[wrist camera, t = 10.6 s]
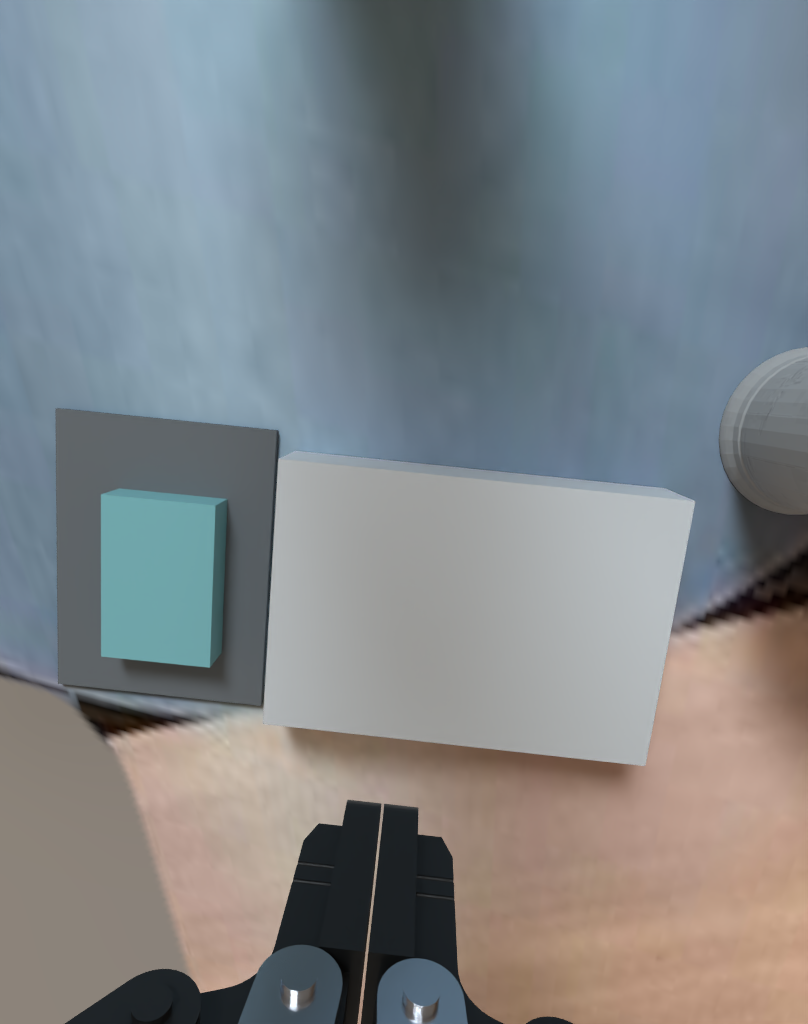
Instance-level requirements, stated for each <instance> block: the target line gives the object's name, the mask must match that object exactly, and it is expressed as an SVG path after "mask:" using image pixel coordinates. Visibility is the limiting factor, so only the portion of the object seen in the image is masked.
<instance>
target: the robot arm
mask: <svg viewBox="0 0 808 1024" xmlns="http://www.w3.org/2000/svg"><path fill="white" fill-rule="evenodd" d="M380 813H381V804H380V803H371V802H362V801H354V800H348V801H347V805H346V810H345V815H344V820H343V825H342V826H337V825H328V824H318V825H317V826H316V827H315V828H314V829H313V831H312V832H311V833H310V834H309V835H308V836H307V837H306V838H305V840H304V842H303V845H302V849H301V853H300V856H299V860H298V865H297V867H296V871H295V874H294V878H293V883H292V885H291V889H290V893H289V896H288V900H287V904H286V907H285V911H284V915H283V918H282V922H281V925H280V929H279V933H278V936H277V940H276V944H275V947H274V950H273V953H272V955H271V956H269V957H268V958H267V959H266V960H265V961H264V963H263V964H262V965H261V967H260V968H259V970H258V972H257V973H256V974H255V975H254V976H253V977H251V978H250V979H248V980H246V981H244V982H243V983H240V984H238V985H235V986H232V987H229V988H225V989H220V990H215V991H210V992H205V993H200V992H199V989H198V987H197V985H196V984H195V982H194V981H193V980H192V979H191V978H190V977H189V976H187V975H186V974H184V973H182V972H179V971H177V970H171V969H158V970H152V971H149V972H145V973H143V974H140V975H138V976H136V977H134V978H133V979H131V980H129V981H128V982H126V983H125V984H123V985H122V986H120V987H119V988H117V989H116V990H115V991H113V992H111V993H110V994H108V995H107V996H105V997H104V998H102V999H101V1000H99V1001H98V1002H96V1003H95V1004H93V1005H92V1006H91V1007H89V1008H87V1009H86V1010H85V1011H83V1012H81V1013H80V1014H78V1015H77V1016H75V1017H74V1018H73V1019H71V1020H70V1021H68V1022H67V1023H65V1024H357V1022H358V1013H359V1004H360V996H361V987H362V978H363V969H364V960H365V952H366V943H367V934H368V925H369V916H370V907H371V899H372V890H373V880H374V871H375V861H376V852H377V842H378V832H379V823H380ZM361 1024H503V1023H501V1022H499V1021H497V1020H495V1019H493V1018H491V1017H489V1016H488V1015H486V1014H485V1013H484V1012H482V1011H481V1010H480V1009H479V1008H478V1007H477V1006H475V1005H474V1003H473V1002H472V1001H471V1000H470V999H469V997H468V996H467V994H466V993H465V991H464V989H463V987H462V985H461V982H460V979H459V975H458V967H457V945H456V923H455V901H454V883H453V858H452V855H451V854H450V852H449V850H448V848H447V846H446V845H445V843H444V841H443V839H442V837H434V836H425V835H418V808H416V807H408V806H399V805H390V804H384V813H383V822H382V831H381V841H380V850H379V859H378V868H377V878H376V887H375V896H374V905H373V915H372V924H371V933H370V942H369V952H368V961H367V971H366V980H365V990H364V1000H363V1009H362V1019H361ZM526 1024H573V1023H571V1022H568V1021H566V1020H563V1019H560V1018H556V1017H539V1018H536V1019H533V1020H531V1021H529V1022H528V1023H526Z"/></svg>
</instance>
